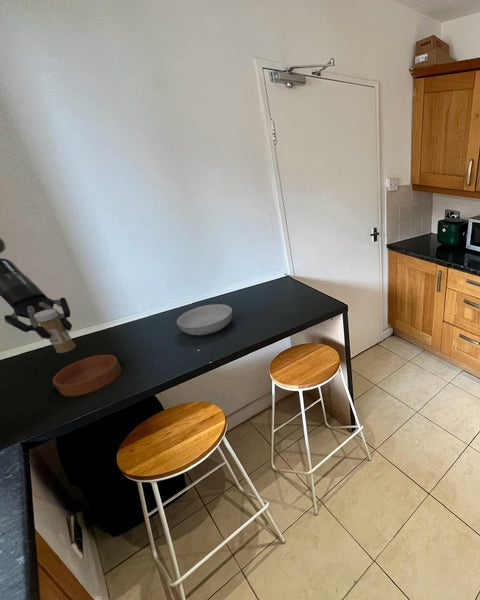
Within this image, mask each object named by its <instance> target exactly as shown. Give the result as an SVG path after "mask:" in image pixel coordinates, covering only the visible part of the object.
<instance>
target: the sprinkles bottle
mask: <svg viewBox="0 0 480 600" xmlns="http://www.w3.org/2000/svg"><path fill="white" fill-rule="evenodd" d="M54 309H55V308H54ZM54 309H49V310H44V311H41V312H38V313H36V314H35V315H34V317H35V319H36V321H38V324H39V326H42V327H43V329H44V330H45V331H46V332H47V333H48V334H49V335H50V338H49V339H48V340H49V342H50V343H51V345H52V346H53V348H54V349H55V352H56V353H57V354H64V353H68V352H70V351H72V350H74V349H75V348H76V347H77V346H76V343H74V341H73V339H72V337H71V335H70V334H69V331H67V330H66V329H65V327H64V325H63V324H62V322H61V321H60V319H59V317H58V314H57V312H56V311H55V310H56V309H55V310H54Z"/></svg>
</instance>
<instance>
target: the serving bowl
mask: <svg viewBox="0 0 480 600" xmlns="http://www.w3.org/2000/svg"><path fill="white" fill-rule="evenodd" d="M232 318H233V309H232V307H231V306H229V305H227V304H220V303H216V304H206V305H202V306H198V307H194V308H192V309H190V310H187V311H185V312H184V313H182V314H181V315H180V316H179V317H178V318H177V319H176V325H177V326H178V328H179V329H180V330H181V331H182V332H184V334H185V333H186V334H188V335H191V336H205V335H209V334H214V333H216V332H218V331H220V330H222V329H224V328H225V327H227V326H228V325H229V324H230V322H231V320H232Z"/></svg>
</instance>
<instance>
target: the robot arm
mask: <svg viewBox="0 0 480 600" xmlns="http://www.w3.org/2000/svg"><path fill="white" fill-rule="evenodd" d="M6 249H7V243H6V241H5V240H4V239H3V238H2V237H0V254H1V253H3V252H5V250H6ZM0 297H1V298H2V299H3V300H4V301H5V302H6V303H7V304H8V305H9V306H10V307H11V309H13V313H11V314H6V315H4V322H5V323H7V324H8V325H10V326H12V327H14V328H17V330H20V331H22V332H24V333H28V332H35V333H36V334H37V335H38V336H39V337H40V338H41V339H46V340H49V338H50V335H49V334H48V333H47V332H46V331H45V330H44V329H43V327H42V326H41V325H40V324H39V323H38V321H36V319H35V317H34V315H35V314H36V313H38V312H41V311H44V310H49V309H54V310H55V311H56V312H57V314H58V317H59V319H60V321H61V322H62V324H63V325H64V327H65V329H66V330H67V332H69V331H71V330H72V328H73V325H72V323H71V322H70V321H69V320H68V319H67V318H71V310H70V308H69V304H68V300H67V299H66V298H65V297H60V298H59V299H53V298H50V297H48V296H47V295H46V294H45V293H44V292H43V291H42V290H41V288H39V286H38V285H37V284H36V283H35V282H34V281H33V280H32V279H31V278H30V277H29V276H28V275H26V274H25V273H24V272H23V271H22V270H21V269H20V267H18V265H17V264H15V262H13V261H12V260H10V259H8V258H2V257H1V258H0ZM54 305H56V306H58V307H61V309H62V312H63V313H61V312H59V310H57V309H55V308H54ZM19 317H20V318H24V319H29V322H30V324H27V323H25V322H23V321H21V320H20V319H19Z"/></svg>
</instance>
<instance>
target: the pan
mask: <svg viewBox="0 0 480 600" xmlns="http://www.w3.org/2000/svg"><path fill="white" fill-rule="evenodd" d="M122 371H123V368H122V365H120V362H119V360H118V359H117V357H116V356H115V355H112V354H101V355H100V354H99V355H93V356H90V357H85V358H82V359H80V360H77V361H75V362H73V363H71V364H69V365H66V366H65V367H64V368H62V369H61V370H59V371H58V372H57V373H56V374H55V375H54V376H53V379H52V384H53V385H54V388H55V389H56V390H57V391H58V392H59V394H60V395H62V396H64V397H78V396H83V395H87V394H90V393H93V392H95V391H98V390H101V389H102V388H105V387H106V386H108V385H110V384H111V383H112V382H114V381H115V380H117V379H118V378H119V376H120V375H121V374H122Z"/></svg>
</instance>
